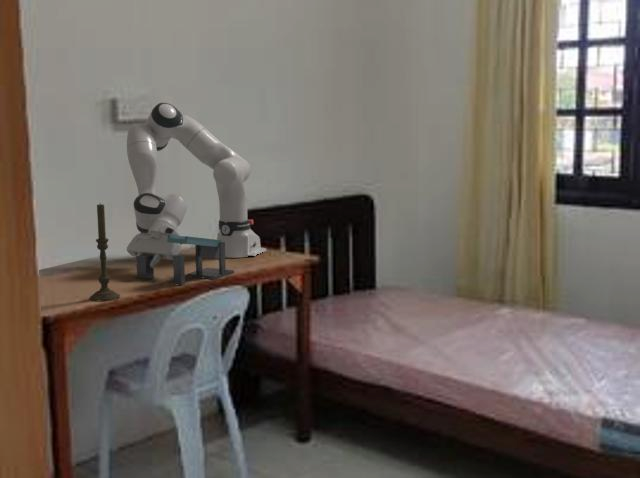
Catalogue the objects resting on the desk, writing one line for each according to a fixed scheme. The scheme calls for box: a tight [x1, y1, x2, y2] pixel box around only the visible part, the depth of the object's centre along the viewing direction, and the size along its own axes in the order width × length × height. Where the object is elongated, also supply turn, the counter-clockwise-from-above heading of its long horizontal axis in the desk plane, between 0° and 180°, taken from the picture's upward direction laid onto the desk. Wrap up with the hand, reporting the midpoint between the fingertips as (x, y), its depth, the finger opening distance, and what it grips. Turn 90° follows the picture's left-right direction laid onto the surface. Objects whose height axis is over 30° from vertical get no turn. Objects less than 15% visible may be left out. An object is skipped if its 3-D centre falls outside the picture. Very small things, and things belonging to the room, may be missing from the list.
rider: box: [135, 254, 155, 280], centre depth 282 cm, size 4×4×8 cm
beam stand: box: [172, 242, 235, 286], centre depth 281 cm, size 25×12×12 cm, turn 152°
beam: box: [167, 235, 222, 259], centre depth 279 cm, size 23×9×6 cm, turn 152°
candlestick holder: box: [89, 202, 121, 302], centre depth 251 cm, size 9×9×30 cm
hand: (143, 266), depth 281 cm, fingers closed on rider, 4 cm apart
